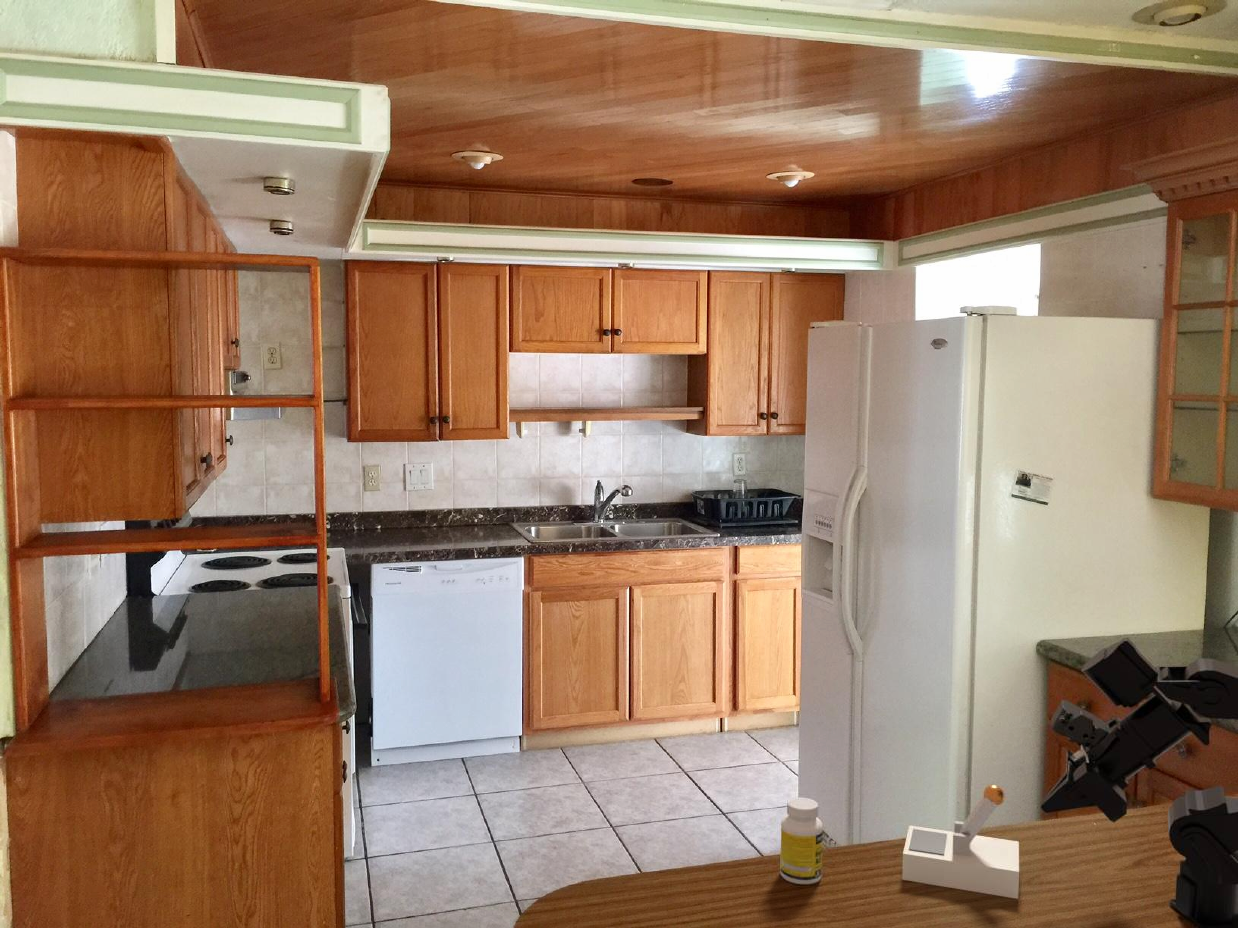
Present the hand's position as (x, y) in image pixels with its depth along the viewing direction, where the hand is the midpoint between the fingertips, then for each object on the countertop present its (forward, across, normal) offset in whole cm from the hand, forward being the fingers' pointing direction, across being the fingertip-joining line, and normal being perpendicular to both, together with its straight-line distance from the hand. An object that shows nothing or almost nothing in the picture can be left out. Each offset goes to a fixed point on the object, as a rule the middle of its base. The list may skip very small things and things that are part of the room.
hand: (1042, 808), depth 131 cm
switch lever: (+11, 0, -3) cm, 11 cm away
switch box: (+14, 0, 0) cm, 14 cm away
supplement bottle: (+28, +8, -13) cm, 32 cm away
